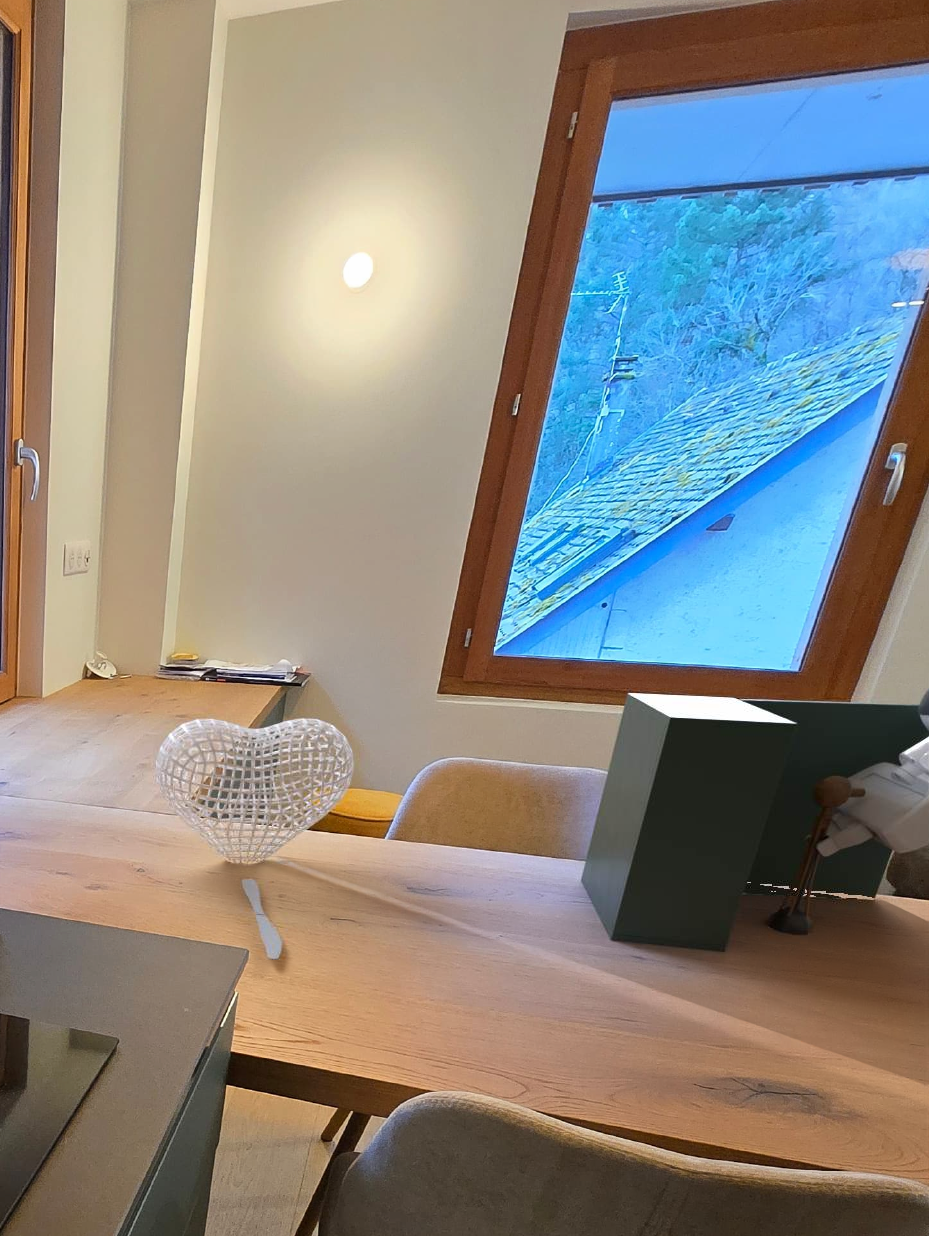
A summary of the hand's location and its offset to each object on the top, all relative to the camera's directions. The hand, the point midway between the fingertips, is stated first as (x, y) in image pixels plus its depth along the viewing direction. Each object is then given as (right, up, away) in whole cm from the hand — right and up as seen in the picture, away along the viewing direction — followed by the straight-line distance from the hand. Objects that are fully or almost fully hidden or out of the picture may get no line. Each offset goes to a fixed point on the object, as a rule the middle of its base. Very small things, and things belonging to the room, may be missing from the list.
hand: (813, 848), depth 124 cm
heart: (-61, +1, +31) cm, 69 cm away
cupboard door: (+7, -5, +17) cm, 19 cm away
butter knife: (-65, -8, +8) cm, 66 cm away
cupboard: (-14, -8, +9) cm, 19 cm away
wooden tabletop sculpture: (+1, -11, +4) cm, 11 cm away
